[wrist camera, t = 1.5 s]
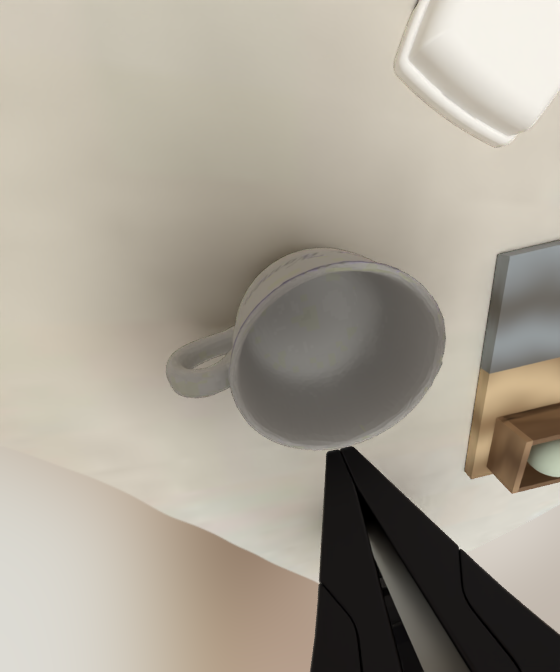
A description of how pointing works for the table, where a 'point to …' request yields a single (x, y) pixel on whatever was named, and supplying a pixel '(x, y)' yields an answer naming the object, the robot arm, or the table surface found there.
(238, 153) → the table surface
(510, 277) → the flat board
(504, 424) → the walnut box
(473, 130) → the soap
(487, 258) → the table surface
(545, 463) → the sage ball
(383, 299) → the teacup
